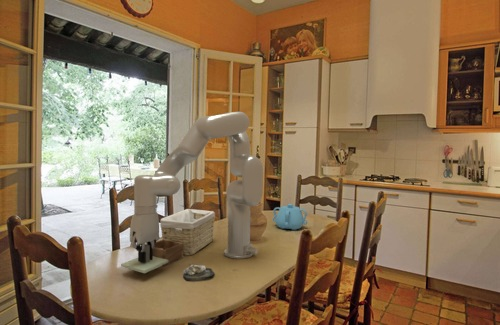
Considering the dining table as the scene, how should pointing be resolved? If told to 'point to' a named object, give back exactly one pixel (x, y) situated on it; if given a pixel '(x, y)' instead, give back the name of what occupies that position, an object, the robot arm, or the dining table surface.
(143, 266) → the lid
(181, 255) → the box
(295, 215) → the decorative pot
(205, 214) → the storage basket
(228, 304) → the dining table surface
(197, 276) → the grey oval ornament
